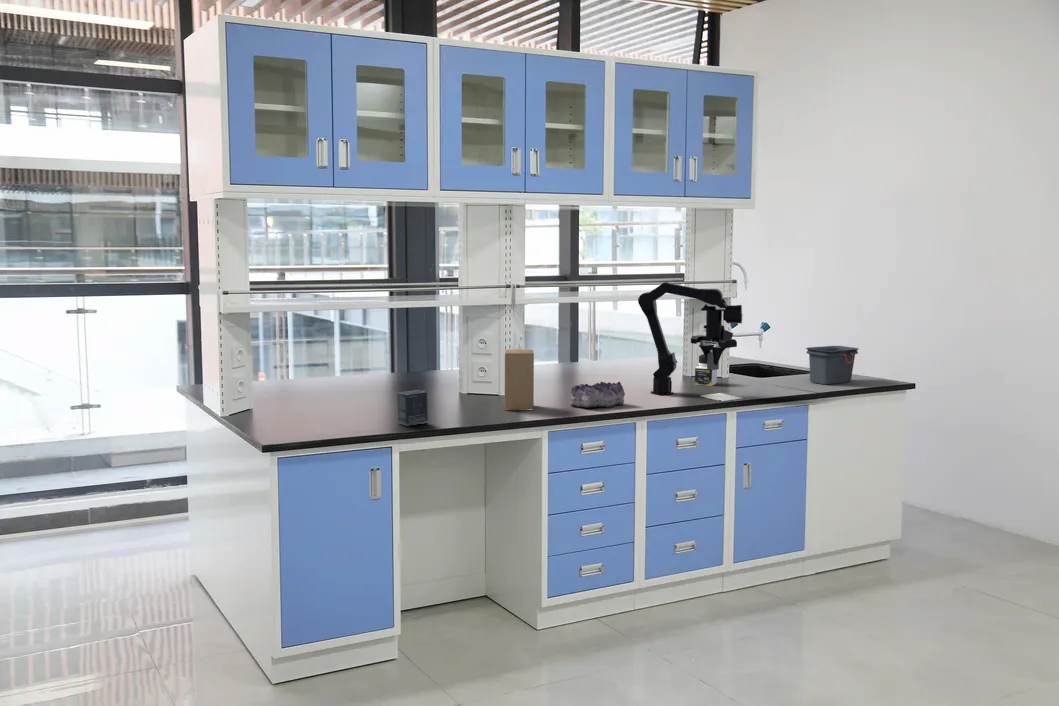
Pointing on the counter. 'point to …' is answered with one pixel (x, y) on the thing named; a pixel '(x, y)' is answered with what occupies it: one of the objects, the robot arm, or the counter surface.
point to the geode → (597, 395)
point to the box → (412, 406)
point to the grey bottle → (711, 361)
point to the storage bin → (831, 364)
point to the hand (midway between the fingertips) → (712, 364)
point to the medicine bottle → (704, 373)
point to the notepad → (723, 396)
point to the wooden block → (519, 379)
